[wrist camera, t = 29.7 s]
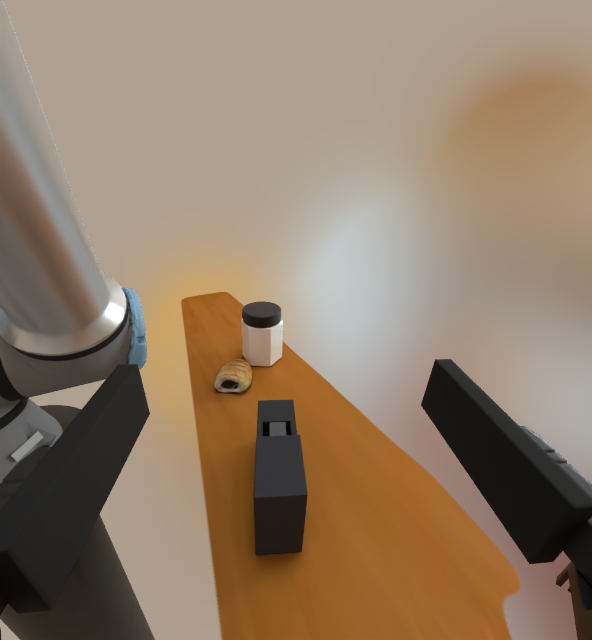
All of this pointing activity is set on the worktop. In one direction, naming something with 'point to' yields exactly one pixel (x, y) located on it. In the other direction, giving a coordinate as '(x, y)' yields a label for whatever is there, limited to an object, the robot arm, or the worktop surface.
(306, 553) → the worktop surface
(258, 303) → the jar
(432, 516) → the worktop surface
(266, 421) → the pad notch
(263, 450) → the block
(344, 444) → the worktop surface
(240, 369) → the pastry
